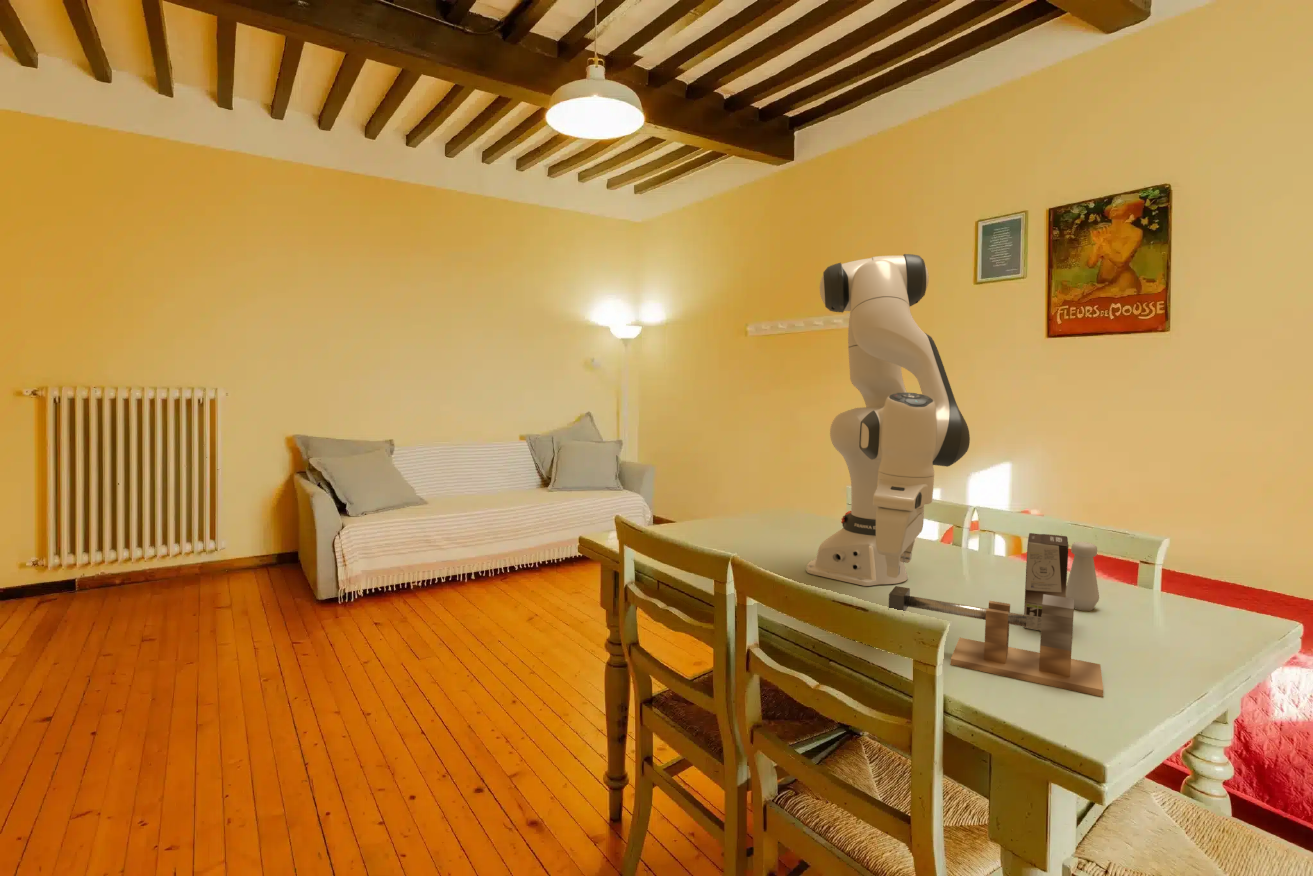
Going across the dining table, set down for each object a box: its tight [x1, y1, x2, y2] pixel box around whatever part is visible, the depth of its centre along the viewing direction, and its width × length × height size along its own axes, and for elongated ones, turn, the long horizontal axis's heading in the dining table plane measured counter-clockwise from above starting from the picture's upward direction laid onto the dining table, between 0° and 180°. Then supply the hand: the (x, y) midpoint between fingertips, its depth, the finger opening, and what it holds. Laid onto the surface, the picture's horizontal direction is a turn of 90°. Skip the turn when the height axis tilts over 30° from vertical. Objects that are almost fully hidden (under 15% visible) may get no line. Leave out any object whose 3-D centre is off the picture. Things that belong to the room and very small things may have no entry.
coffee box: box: [1023, 532, 1070, 632], centre depth 120 cm, size 9×6×16 cm
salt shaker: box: [1066, 541, 1100, 612], centre depth 128 cm, size 6×6×13 cm
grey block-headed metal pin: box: [888, 585, 1027, 628], centre depth 107 cm, size 20×5×3 cm, turn 58°
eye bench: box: [950, 594, 1104, 698], centre depth 102 cm, size 20×10×11 cm, turn 58°
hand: (899, 568), depth 112 cm, fingers open, 8 cm apart
